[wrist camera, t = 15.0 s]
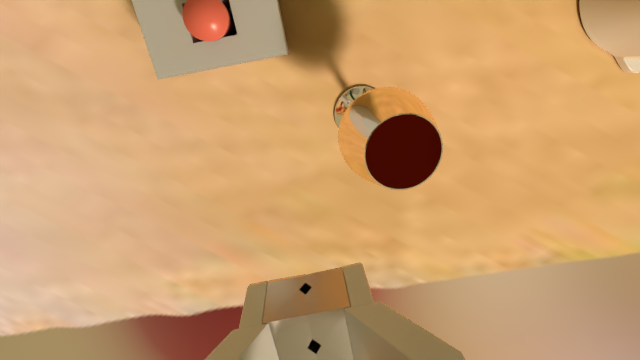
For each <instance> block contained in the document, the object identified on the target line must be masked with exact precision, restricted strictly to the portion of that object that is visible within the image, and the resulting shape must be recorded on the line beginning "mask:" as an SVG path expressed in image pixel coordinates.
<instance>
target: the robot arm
mask: <svg viewBox="0 0 640 360" xmlns="http://www.w3.org/2000/svg"><path fill="white" fill-rule="evenodd" d="M579 7H580V16H581V20H582V24H583V27H584V29H585V31H586V33H587V35H588V36H589V38H590V39H591V40H592V41H593V42H594V43H595V44H596V45H597V46H598V47H600V48H601V49H603V50H605V51H607V52H608V53H610V54H611V55H613V56H614V57H615V59H616V61H617V63H618V64H619V66H620V67H621V69H622V70H623V71H624V72H626V73H638V72H640V0H579ZM205 360H465V358H464V357H463V355H462V353H461V352H460V351H458V350H457V349H455V348H454V347H452V346H450V345H449V344H447V343H446V342H444V341H442V340H441V339H439V338H438V337H436V336H434V335H433V334H431V333H430V332H428V331H427V330H425V329H423V328H422V327H420V326H419V325H417V324H415V323H413V322H412V321H411V320H409V319H407V318H406V317H404V316H402V315H401V314H399V313H398V312H396V311H395V310H393V309H391V308H390V307H388V306H386V305H385V304H383V303H382V302H374V300H373V297H372V294H371V290H370V287H369V284H368V281H367V278H366V275H365V271H364V268H363V265H362V264H361V263H356V264H351V265H347V266H343V270H342V267H340V268H335V269H330V270H326V271H321V272H316V273H311V274H307V275H306V274H304V275H298V276H292V277H287V278H281V279H275V280H269V281H264V282H259V283H254V284H250V285H249V286H248V288H247V292H246V297H245V302H244V307H243V312H242V317H241V322H240V326H239V329H235V330H233V331H232V332H231V333H230V334H229V335H228V336H227V337H226V338H225V339H224V340H223V341H222V342H221V343H220V344H219V345H218V346H217V347H216V348H215V349H214V350H213V352H211V353H210V354H209V355H208V356H207V358H206V359H205Z"/></svg>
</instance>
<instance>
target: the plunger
mask: <svg viewBox="0 0 640 360" xmlns="http://www.w3.org/2000/svg"><path fill="white" fill-rule="evenodd" d="M183 21H184V24H185V26H186V28H187V30H188V31H189V32H190V33H191V34H192V35H193V36H194V37H196V38H197V39H199V40H203V41H217V40H219V39H221V38H223V37H228V36H233V35H235V34H236V33H237V31H236V27H235V23H234V18H233V15H232V14H230V13H229V12H228V10H227V8H226V6H225V5H224V4H223V3H222V2H221V1H220V0H187V1H186V3H185V5H184V7H183Z"/></svg>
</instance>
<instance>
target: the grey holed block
mask: <svg viewBox="0 0 640 360" xmlns="http://www.w3.org/2000/svg"><path fill="white" fill-rule="evenodd" d="M186 1H187V0H132V3H133V6H134V9H135V12H136V15H137V18H138V21H139V24H140V27H141V30H142V33H143V36H144V39H145V42H146V45H147V48H148V51H149V55H150V58H151V61H152V64H153V67H154V70H155V73H156V76H157V79H164V78H169V77H174V76H179V75H184V74H190V73H195V72H200V71H205V70H210V69H215V68H220V67H226V66H231V65H236V64H241V63H246V62H251V61H257V60H262V59H267V58H272V57H277V56H282V55H287V54H289V50H288V45H287V40H286V35H285V30H284V25H283V20H282V15H281V10H280V5H279V0H220V1H221V2H222V3H223V4H224V5H225V6H226V8H227V10H228V12H229V13H230V14H232V15H233V18H234V23H235V27H236V31H237V33H236V34H235V35H233V36H228V37H223V38H221V39H219V40H217V41H203V40H199V39H197V38H196V37H194V36H193V35H192V34H191V33H190V32H189V31H188V30H187V28H186V26H185V24H184V21H183V7H184V5H185V3H186Z"/></svg>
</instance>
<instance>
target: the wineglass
mask: <svg viewBox="0 0 640 360" xmlns="http://www.w3.org/2000/svg"><path fill="white" fill-rule="evenodd" d="M334 116H335V122H336V124H337V126H338V128H339V130H338V143H339V148H340V151H341V154H342V156H343V158H344V160H345V162H346V163H347V164H348V166H349V167H350V168H351V169H352V170H353V171H354V172H355V173H356V174H358V175H359V176H361V177H362V178H364V179H366V180H368V181H370V182H372V183H375V184H377V185H380V186H383V187H386V188H389V189H394V190H406V189H410V188H414V187H416V186H418V185H420V184H422V183H423V182H425V181H426V180H427V179H429V178H430V177H431V176H432V174H433V173H434V172H435V171H436V169H437V167H438V165H439V163H440V161H441V157H442V152H443V143H442V138H441V135H440V133H439V130H438V127H437V125H436V123H435V121H434V118H433V116H432V115H431V113H430V111H429V110H428V108H427V107H426V105H425V104H424V103H423V102H422V101H421V100H420V99H419V98H418V97H416V96H415V95H413V94H412V93H410V92H408V91H406V90H403V89H399V88H394V87H381V88H376V89H373V88H371V87H368V86H356V87H353V88H350V89H349V90H347V91H346V92H344V93H343V94H342V95H341V96H340V98H339V99H338V101H337V103H336V106H335V111H334Z"/></svg>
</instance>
